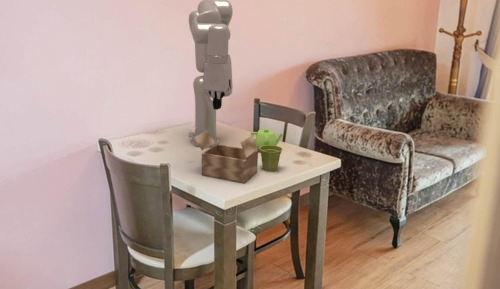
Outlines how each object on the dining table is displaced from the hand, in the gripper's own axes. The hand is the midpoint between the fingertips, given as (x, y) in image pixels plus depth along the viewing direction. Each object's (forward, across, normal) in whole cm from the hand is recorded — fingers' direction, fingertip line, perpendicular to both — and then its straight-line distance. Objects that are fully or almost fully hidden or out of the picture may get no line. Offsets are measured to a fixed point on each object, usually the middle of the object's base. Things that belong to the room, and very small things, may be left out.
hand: (217, 108), depth 186 cm
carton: (+26, +6, +1) cm, 26 cm away
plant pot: (+26, +17, +14) cm, 34 cm away
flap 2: (+13, +13, +1) cm, 19 cm away
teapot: (+25, +6, +36) cm, 44 cm away
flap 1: (+13, -5, 0) cm, 14 cm away
